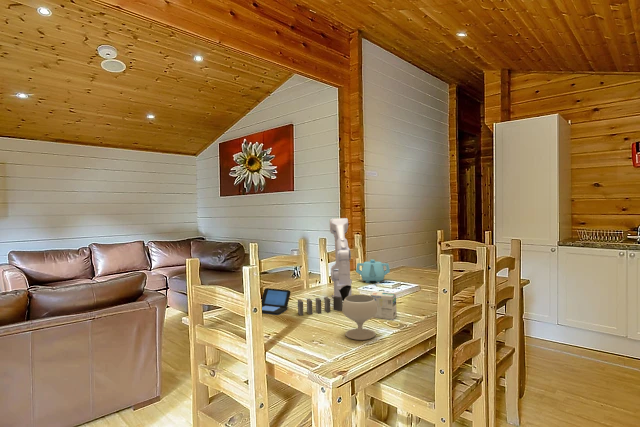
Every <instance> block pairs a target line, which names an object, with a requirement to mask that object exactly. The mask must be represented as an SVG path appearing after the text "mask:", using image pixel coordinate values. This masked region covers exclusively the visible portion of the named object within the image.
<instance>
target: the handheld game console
mask: <svg viewBox="0 0 640 427" xmlns="http://www.w3.org/2000/svg"><path fill="white" fill-rule="evenodd" d="M290 297H291V291H290V290H289V289H280V288H279V289H278V288H270V287H269V288H268V287H265V289H264V290H263V292H262V298H261V300H262V312H263V313H262V314H267V315H276V316H277V315H281V314H282V313H284V312H287V311H288V306H289V300H290Z"/></svg>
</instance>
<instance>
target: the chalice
mask: <svg viewBox="0 0 640 427" xmlns="http://www.w3.org/2000/svg"><path fill="white" fill-rule="evenodd" d="M341 312H342V313H343V315H344V317H346V318H347V319H349V320H351V321H354V322H355V324H356V325H357V328H352V329H349V330H346V332H345V337H347V338H348V339H350V340H356V341H363V340H364V341H365V340H370V339H373V338H375V337H376V333H375V331H374V330H371V329H368V328H363V325H364V324H365V322H368V321H369V320H371V319H372V318H375V317H374V316H375V315H376V313H377V304H376V301H375V299H374V298H373V297H372V296H371V295H369V294H352V295H350V296H347V297H346V298H345V299H344V301H343V307H342V311H341Z"/></svg>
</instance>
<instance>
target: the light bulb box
mask: <svg viewBox="0 0 640 427" xmlns="http://www.w3.org/2000/svg"><path fill="white" fill-rule="evenodd" d="M370 296H372V297H373V298H374V299H375V301H376V304H377V313H376V315H375V316H374V317H373V318H376V319H386V320H394V319H395V318H396V316H397V293H396V292H386V291H385V292H384V291H376V290H375V291H373V292H372V293H370Z"/></svg>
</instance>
